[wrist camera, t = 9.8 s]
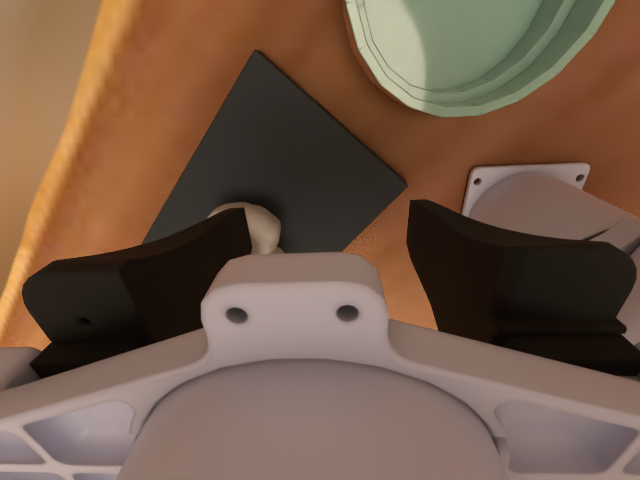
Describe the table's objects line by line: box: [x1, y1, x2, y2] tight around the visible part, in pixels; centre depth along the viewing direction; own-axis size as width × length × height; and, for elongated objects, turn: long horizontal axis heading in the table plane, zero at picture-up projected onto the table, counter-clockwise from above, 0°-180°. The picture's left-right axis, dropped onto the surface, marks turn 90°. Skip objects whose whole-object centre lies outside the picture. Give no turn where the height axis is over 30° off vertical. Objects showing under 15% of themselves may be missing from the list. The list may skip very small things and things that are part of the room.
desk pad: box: [141, 50, 408, 254], centre depth 24 cm, size 20×13×1 cm, turn 141°
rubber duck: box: [207, 202, 285, 255], centre depth 20 cm, size 5×7×8 cm
